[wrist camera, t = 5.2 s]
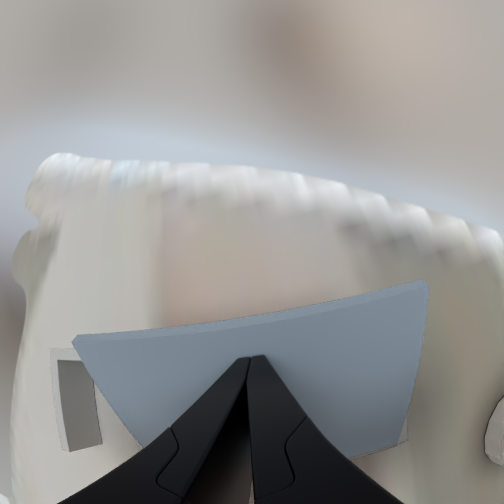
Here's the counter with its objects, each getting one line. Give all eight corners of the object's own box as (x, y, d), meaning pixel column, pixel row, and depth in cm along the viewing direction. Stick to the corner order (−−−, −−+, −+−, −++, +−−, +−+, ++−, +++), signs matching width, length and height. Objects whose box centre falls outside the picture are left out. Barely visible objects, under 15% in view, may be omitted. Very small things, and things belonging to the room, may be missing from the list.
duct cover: (393, 439, 10) (396, 447, 10) (168, 466, 11) (166, 474, 11) (420, 278, 8) (430, 286, 7) (78, 334, 9) (70, 342, 8)
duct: (386, 426, 14) (408, 440, 10) (94, 442, 16) (62, 449, 12) (367, 313, 17) (386, 300, 13) (84, 350, 19) (50, 344, 15)
